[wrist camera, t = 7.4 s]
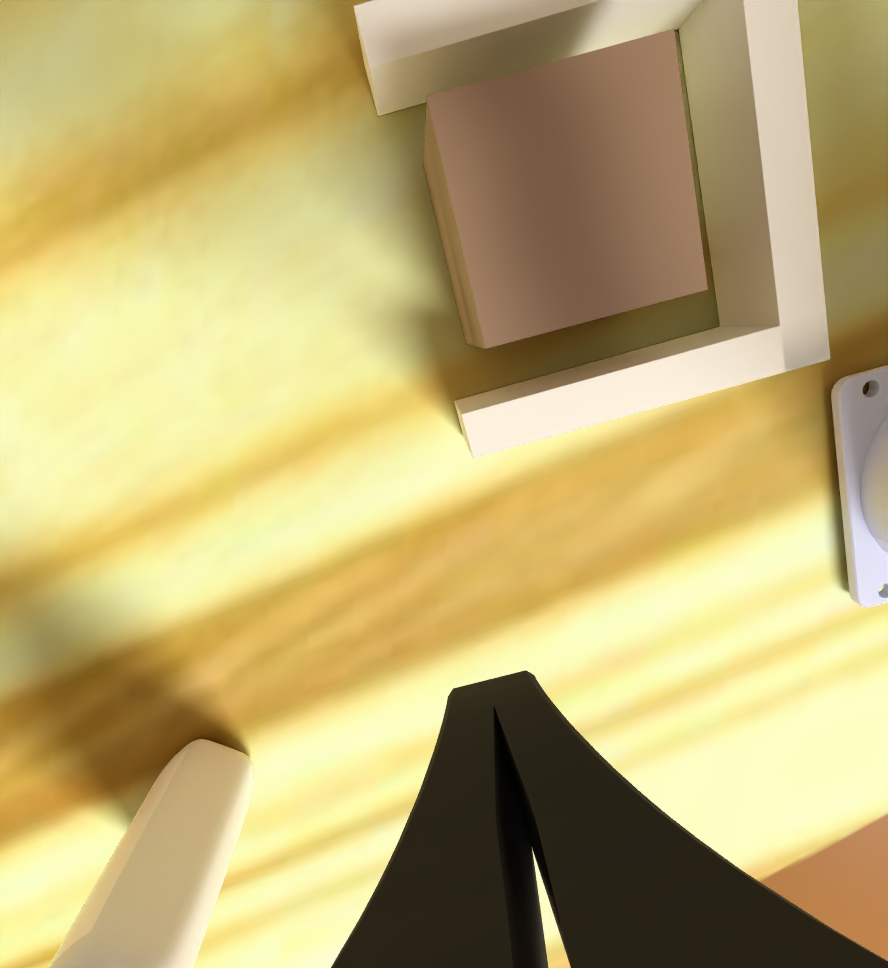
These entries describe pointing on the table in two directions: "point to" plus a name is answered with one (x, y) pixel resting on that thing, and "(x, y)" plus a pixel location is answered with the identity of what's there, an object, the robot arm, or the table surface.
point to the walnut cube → (565, 191)
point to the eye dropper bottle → (166, 866)
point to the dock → (722, 172)
